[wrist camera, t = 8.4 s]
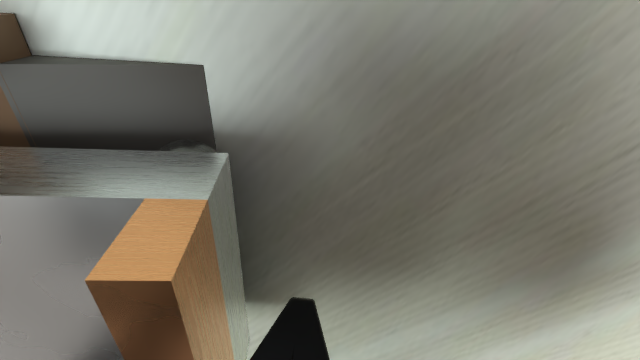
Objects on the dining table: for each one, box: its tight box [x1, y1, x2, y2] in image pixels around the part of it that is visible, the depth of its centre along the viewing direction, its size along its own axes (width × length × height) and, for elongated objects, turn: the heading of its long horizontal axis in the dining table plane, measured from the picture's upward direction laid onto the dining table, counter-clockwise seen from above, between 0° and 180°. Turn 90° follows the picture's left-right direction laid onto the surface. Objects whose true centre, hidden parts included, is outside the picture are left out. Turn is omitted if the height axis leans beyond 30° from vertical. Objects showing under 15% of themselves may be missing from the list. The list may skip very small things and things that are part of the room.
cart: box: [0, 139, 249, 360], centre depth 9 cm, size 8×11×6 cm
